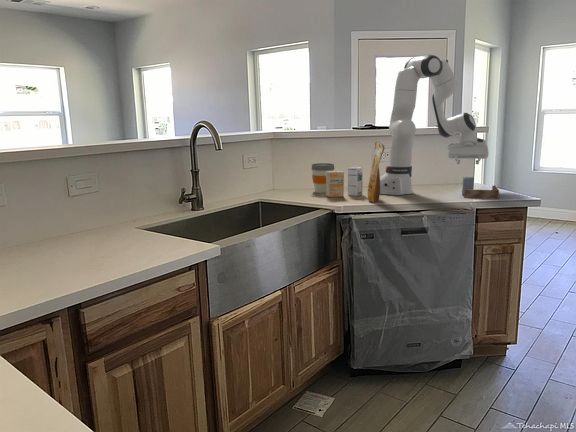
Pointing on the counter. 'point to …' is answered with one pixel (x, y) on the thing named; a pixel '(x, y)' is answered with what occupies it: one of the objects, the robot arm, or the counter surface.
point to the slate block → (467, 183)
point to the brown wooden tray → (482, 193)
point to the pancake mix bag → (375, 174)
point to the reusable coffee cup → (320, 175)
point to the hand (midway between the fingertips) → (467, 163)
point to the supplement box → (334, 183)
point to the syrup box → (355, 181)
